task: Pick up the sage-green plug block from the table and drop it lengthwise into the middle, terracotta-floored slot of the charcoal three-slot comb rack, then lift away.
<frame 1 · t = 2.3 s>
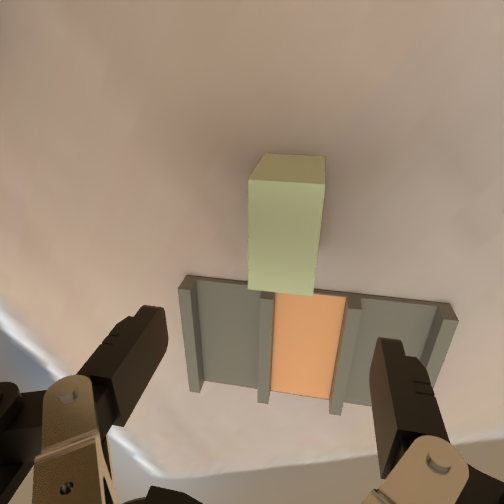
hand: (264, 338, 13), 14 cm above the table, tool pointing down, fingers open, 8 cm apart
comb rack: (304, 344, 31), on the table
plug: (291, 204, 25), on the table
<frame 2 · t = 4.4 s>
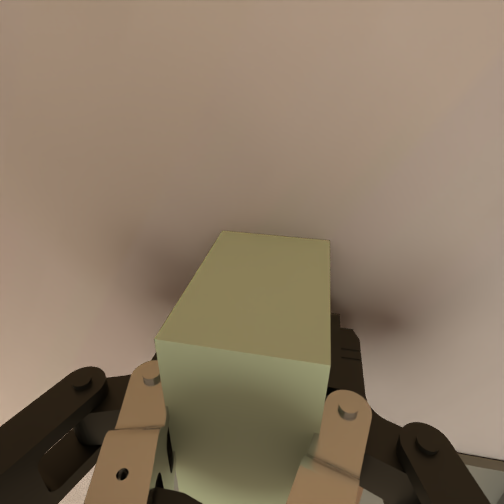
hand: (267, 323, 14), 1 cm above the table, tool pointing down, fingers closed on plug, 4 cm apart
comb rack: (296, 491, 20), on the table
plug: (271, 310, 15), on the table, touching gripper
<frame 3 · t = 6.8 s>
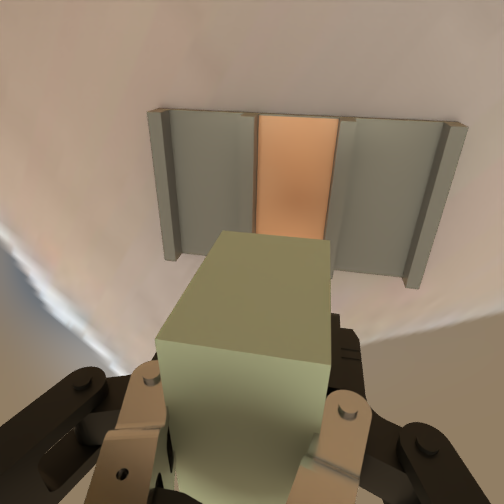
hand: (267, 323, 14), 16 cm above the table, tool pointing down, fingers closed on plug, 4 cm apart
comb rack: (292, 196, 27), on the table
plug: (271, 310, 15), point 15 cm above the table, touching gripper
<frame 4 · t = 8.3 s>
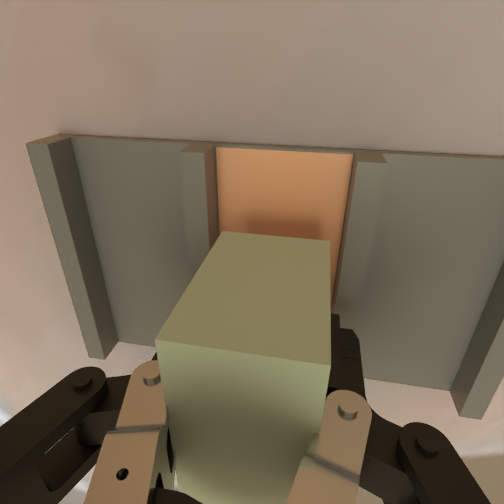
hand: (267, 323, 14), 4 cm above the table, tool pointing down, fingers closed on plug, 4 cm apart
comb rack: (277, 269, 17), on the table
plug: (271, 311, 15), point 3 cm above the table, touching gripper
when the fingers open (2 cm above the table, at t = 9.3 s): plug drops 1 cm, resting on comb rack.
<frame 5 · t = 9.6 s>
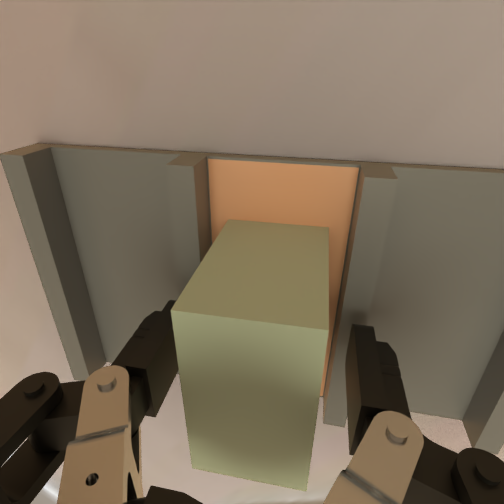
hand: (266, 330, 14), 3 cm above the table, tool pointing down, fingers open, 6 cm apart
comb rack: (275, 289, 16), on the table
plug: (274, 295, 16), point 1 cm above the table, touching comb rack
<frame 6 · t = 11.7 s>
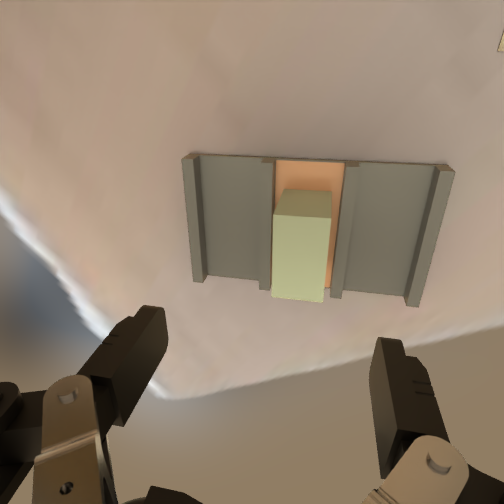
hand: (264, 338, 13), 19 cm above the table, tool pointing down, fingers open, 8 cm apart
comb rack: (305, 226, 31), on the table
plug: (305, 228, 31), point 1 cm above the table, touching comb rack
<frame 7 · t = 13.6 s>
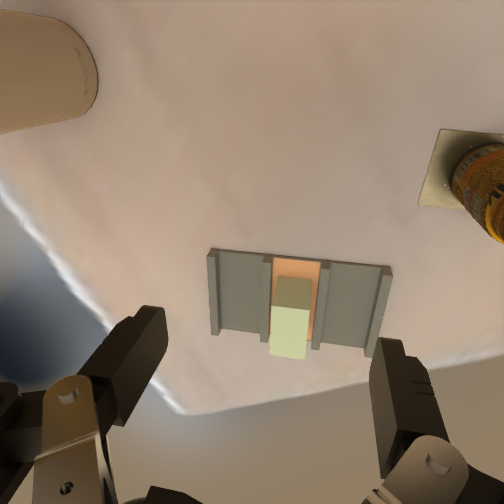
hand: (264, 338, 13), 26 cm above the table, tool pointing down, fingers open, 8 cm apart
comb rack: (293, 298, 44), on the table
plug: (293, 301, 43), point 1 cm above the table, touching comb rack
condiment: (474, 172, 33), on the table
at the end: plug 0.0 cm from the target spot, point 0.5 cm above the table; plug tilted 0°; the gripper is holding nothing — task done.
